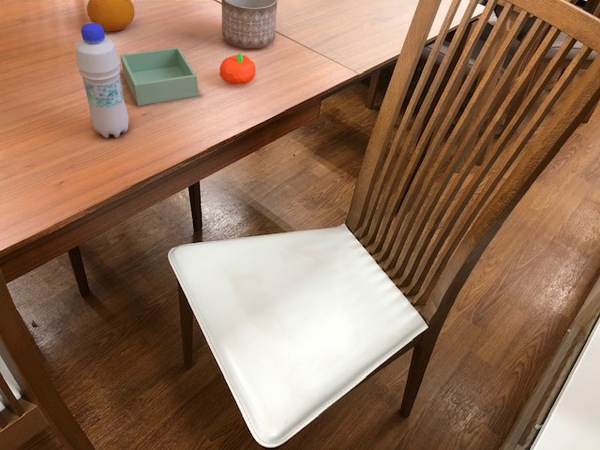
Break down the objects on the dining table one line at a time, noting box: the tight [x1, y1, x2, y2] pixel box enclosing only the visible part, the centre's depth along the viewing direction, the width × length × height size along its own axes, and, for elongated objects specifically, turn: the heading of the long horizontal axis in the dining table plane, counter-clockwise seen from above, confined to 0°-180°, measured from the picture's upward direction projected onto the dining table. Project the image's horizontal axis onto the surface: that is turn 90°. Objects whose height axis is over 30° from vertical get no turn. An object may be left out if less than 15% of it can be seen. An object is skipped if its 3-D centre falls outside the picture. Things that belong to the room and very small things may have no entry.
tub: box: [119, 46, 199, 107], centre depth 103 cm, size 12×12×5 cm
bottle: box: [75, 22, 130, 139], centre depth 86 cm, size 7×7×20 cm
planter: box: [221, 0, 278, 49], centre depth 119 cm, size 13×13×10 cm
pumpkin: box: [219, 53, 256, 85], centre depth 107 cm, size 7×8×6 cm
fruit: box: [86, 0, 136, 32], centre depth 117 cm, size 10×10×8 cm
